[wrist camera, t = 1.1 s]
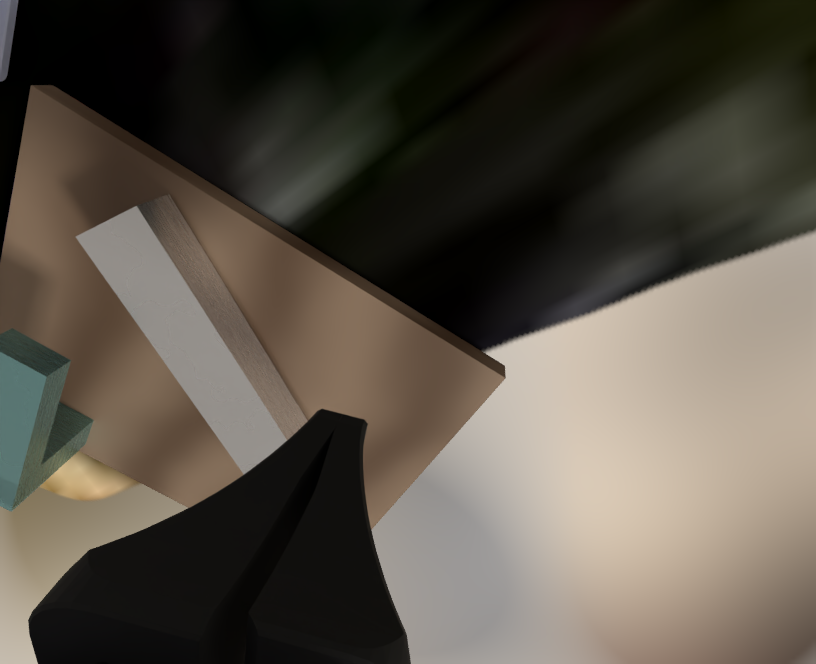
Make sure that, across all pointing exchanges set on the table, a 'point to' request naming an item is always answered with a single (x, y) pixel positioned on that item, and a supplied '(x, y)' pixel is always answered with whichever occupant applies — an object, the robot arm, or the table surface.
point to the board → (254, 295)
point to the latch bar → (195, 327)
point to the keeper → (33, 417)
